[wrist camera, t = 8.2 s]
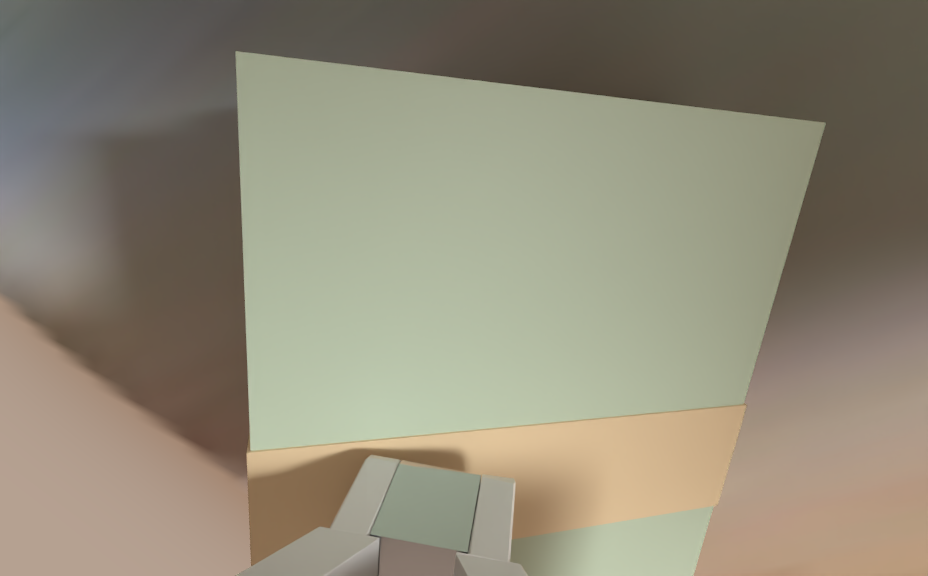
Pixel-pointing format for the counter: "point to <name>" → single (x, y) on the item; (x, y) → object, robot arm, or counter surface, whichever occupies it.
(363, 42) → the counter surface
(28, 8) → the counter surface
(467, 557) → the robot arm
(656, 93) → the counter surface
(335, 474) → the lid
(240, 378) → the counter surface
